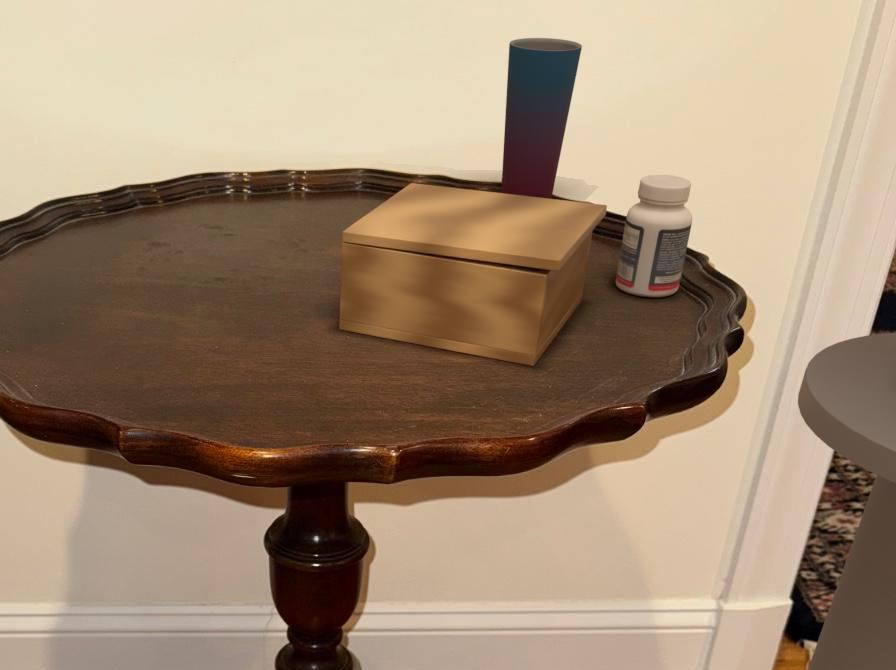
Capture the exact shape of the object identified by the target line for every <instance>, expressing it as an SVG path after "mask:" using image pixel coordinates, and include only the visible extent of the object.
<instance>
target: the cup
mask: <svg viewBox="0 0 896 670" xmlns="http://www.w3.org/2000/svg"><path fill="white" fill-rule="evenodd" d="M582 48H583V45H582V44H581V43H580V42H576V41H573V40H567V39H563V38H561V39H560V38H551V37H526V38H517V39H513V40H511V41H509V47H508V60H507V61H508V62H507V63H508V65H507V79H506V80H507V81H506V97H505V99H506V100H505V118H504V134H503V135H504V136H503V153H502V169H501V171H502V172H501V190H500V193H504V194H513V195H521V196H530V197H539V198H548V199H553V192H554V188H555V183H556V178H557V173H558V167H559V163H560V157H561V152H562V148H563V143H564V139H565V134H566V129H567V123H568V118H569V113H570V109H571V104H572V97H573V92H574V89H575V84H576V78H577V73H578V68H579V65H580V64H579V63H580V60H581V59H580V58H581V53H582Z"/></svg>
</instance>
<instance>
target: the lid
mask: <svg viewBox="0 0 896 670" xmlns="http://www.w3.org/2000/svg"><path fill="white" fill-rule="evenodd" d="M607 208H608V206H607V205H606V204H600V203H591V202H583V201H582V202H581V201H574V200H565V199H556V198H551V199H548V198H539V197H530V196H521V195H513V194H504V193H501V192H494V191H485V190H476V189H467V188H460V187H459V188H458V187H450V186H440V185H432V184H425V183H424V184H423V183H415V182H411V183H409V184H408V185H407V186H405V187H404V188H401V190H399V191H397V192H396V193H395V194H394V195H392V196H391V197H389V198H388V199H387V200H385V201H384V202H382V203H381V204H380V205H378V206H377V207H375V208H374V209H373V210H370V211H369V212H368V213H367V214H366V215H364V216H363V217H361V218H360V219H358V220H357V221H356V222H354V223H353V224H350V226H348V227H347V228H345V229H344V230H343V231H342V236H341V237H342V243H343V242H348V243H355V244H362V245H370V246H377V247H384V248H392V249H399V250H406V251H414V252H421V253H428V254H436V255H443V256H450V257H458V258H465V259H472V260H480V261H487V262H494V263H502V264H509V265H516V266H524V267H531V268H538V269H546V270H553V271H559V270H560V269H561V268H562V266H563V265H564V264H565V263H566V262H567V260H568V259H569V258H570V257H571V256H572V254H573V253H574V252H575V251H576V250H577V248H578V247H579V246H580V245H581V244H582V242H583V241H584V240H585V239H586V238H587V236H588V235H589V234H590V233H591V232H592V230H593V231H594V229H595V228H596V227H597V225H599V223H600V222H601V221H602V220H603V219H604V217H606V214H607ZM592 233H593V232H592Z"/></svg>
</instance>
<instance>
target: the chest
mask: <svg viewBox="0 0 896 670" xmlns="http://www.w3.org/2000/svg"><path fill="white" fill-rule="evenodd" d="M593 231H594V229H593V230H592V232H591V233H590V234H589V235H588V236H587V238H586V239H585V240H584V241H583V242H582V244H581V245H580V246H579V247H578V248H577V250H576V251H575V252H574V253H573V254H572V256H571V257H570V258H569V259H568V260H567V262H566V263H565V264H564V265H563V266H562V268H561V269H560V270H559V271H553V270H546V269H538V268H531V267H524V266H516V265H509V264H502V263H494V262H487V261H480V260H472V259H465V258H458V257H450V256H443V255H436V254H428V253H421V252H414V251H406V250H399V249H392V248H384V247H377V246H370V245H362V244H355V243H348V242H343V241H342V243H341V264H340V265H341V266H340V293H339V294H340V296H339V321H338V329H339V330H340V331H346V332H350V333H357V334H362V335H368V336H372V337H376V338H383V339H388V340H392V341H393V340H394V341H398V342H403V343H409V344H415V345H421V346H425V347H430V348H435V349H441V350H446V351H451V352H456V353H462V354H467V355H473V356H478V357H482V358H488V359H493V360H499V361H505V362H509V363H514V364H519V365H520V364H521V365H525V366H531V367H534V366H535V365H536V364H537V362H538V361H539V360H540V358H541V357H542V355H543V354H544V352H545V351H546V350H547V349H548V348H549V346H550V345H551V343H552V342H553V340H554V339H555V338H556V336H557V335H558V334H559V332H560V331H561V330H562V328H563V327H564V325H565V324H566V323H567V322H568V320H569V319H570V318H571V316H572V315H573V313H574V312H575V310H576V309H577V308H578V306H579V305H581V302H582V299H583V293H584V287H585V281H586V273H587V268H588V261H589V256H590V251H591V250H590V249H591V243H592V237H593Z"/></svg>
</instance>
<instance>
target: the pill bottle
mask: <svg viewBox="0 0 896 670" xmlns="http://www.w3.org/2000/svg"><path fill="white" fill-rule="evenodd" d="M638 185H639V186H638V190H637V196H638V199H639V202H637V203H635V204H633V205H632V206H631V207H630V208H629V209H628V210H627V213H626V217H625V222H624V229H623V235H622V240H621V246H620V252H619V258H618V263H617V269H616V273H615V275H616V276H615V286H616V287H617V288H618V289H619V290H620V291H621V292H624V293H626V294H629V295H633V296H637V297H642V298H665V297H668V296H672V295H673V294H675V293H676V292H678V289H679V287H680V283H681V279H682V273H683V269H684V264H685V259H686V254H687V249H688V244H689V239H690V234H691V229H692V226H693V214H692V212H691V211H690V210H689V208H687V206H685V204H686V203H687V202H688V201H689V197H690V192H691V186H692V183H691V181H690V180H688V179H686V178H684V177H680V176H676V175H671V174H670V175H669V174H650V175H645V176H642V177H641V178H640V181H639V184H638Z"/></svg>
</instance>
